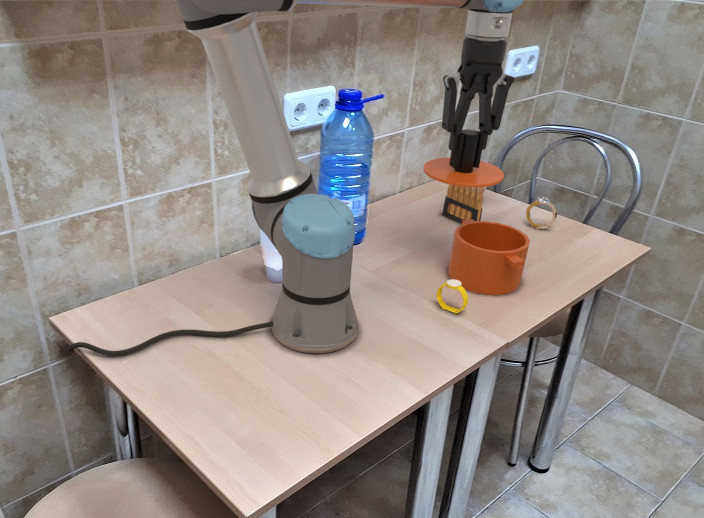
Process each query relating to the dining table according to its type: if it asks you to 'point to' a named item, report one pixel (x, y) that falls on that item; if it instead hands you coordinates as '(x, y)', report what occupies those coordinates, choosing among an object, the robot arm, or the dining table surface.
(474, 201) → the ammunition clip
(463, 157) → the lid
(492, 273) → the pot
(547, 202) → the ring
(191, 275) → the dining table surface
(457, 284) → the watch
